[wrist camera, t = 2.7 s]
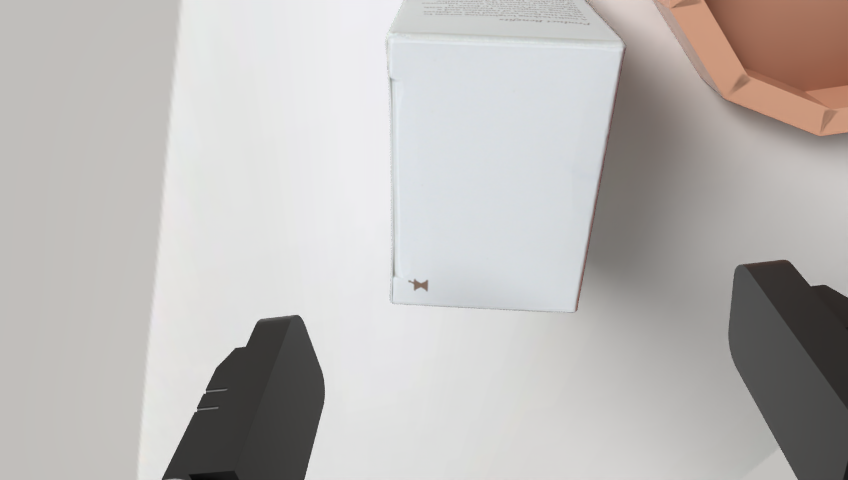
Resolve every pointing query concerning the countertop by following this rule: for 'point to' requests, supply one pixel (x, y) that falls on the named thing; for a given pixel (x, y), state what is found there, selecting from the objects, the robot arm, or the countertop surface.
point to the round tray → (770, 55)
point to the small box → (497, 149)
